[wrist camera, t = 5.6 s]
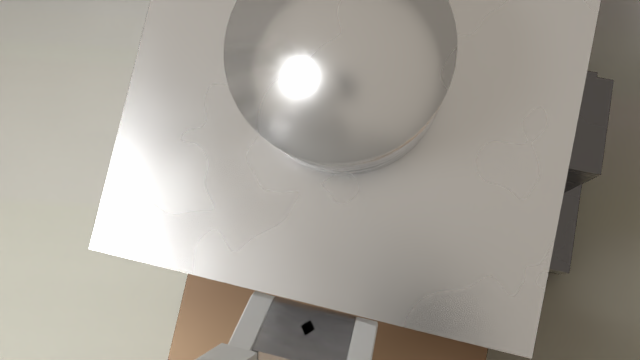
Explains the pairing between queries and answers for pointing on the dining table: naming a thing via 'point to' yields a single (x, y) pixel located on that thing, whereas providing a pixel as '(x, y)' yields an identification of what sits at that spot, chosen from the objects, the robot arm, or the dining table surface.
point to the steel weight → (356, 154)
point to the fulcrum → (582, 164)
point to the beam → (230, 301)
